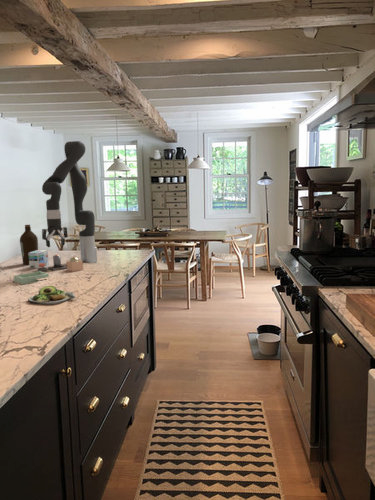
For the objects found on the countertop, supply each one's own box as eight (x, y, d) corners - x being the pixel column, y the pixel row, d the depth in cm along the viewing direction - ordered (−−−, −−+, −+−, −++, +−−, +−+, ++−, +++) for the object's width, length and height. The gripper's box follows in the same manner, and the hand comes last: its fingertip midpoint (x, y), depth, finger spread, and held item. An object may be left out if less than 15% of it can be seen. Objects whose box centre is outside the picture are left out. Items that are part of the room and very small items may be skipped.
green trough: (40, 276, 210) (40, 271, 209) (48, 279, 203) (48, 273, 202) (14, 281, 200) (13, 275, 199) (22, 284, 193) (21, 278, 192)
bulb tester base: (61, 268, 230) (61, 263, 229) (70, 270, 223) (69, 265, 222) (31, 273, 217) (31, 268, 217) (39, 276, 210) (39, 270, 210)
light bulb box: (39, 271, 225) (38, 252, 223) (29, 270, 226) (27, 252, 224) (49, 267, 235) (48, 249, 233) (39, 267, 236) (38, 249, 235)
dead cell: (76, 269, 221) (75, 256, 220) (80, 271, 218) (78, 257, 217) (70, 271, 219) (69, 257, 217) (73, 272, 216) (72, 258, 214)
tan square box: (77, 270, 223) (76, 259, 222) (83, 272, 219) (82, 260, 218) (67, 272, 219) (66, 260, 218) (72, 274, 214) (72, 262, 213)
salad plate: (86, 296, 171) (86, 285, 170) (59, 307, 154) (58, 296, 153) (51, 292, 178) (51, 282, 177) (22, 303, 161) (21, 293, 161)
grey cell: (59, 267, 225) (58, 254, 224) (62, 268, 223) (61, 254, 221) (52, 268, 223) (51, 254, 221) (55, 269, 220) (54, 255, 219)
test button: (43, 265, 218) (43, 262, 218) (46, 266, 216) (45, 263, 216) (38, 266, 216) (37, 263, 216) (40, 267, 214) (40, 264, 213)
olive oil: (39, 261, 256) (36, 223, 252) (40, 264, 246) (36, 225, 242) (21, 262, 252) (18, 224, 248) (21, 265, 242) (18, 226, 238)
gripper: (44, 218, 210) (46, 248, 213) (68, 217, 220) (70, 245, 223) (38, 218, 216) (40, 247, 218) (62, 216, 226) (64, 244, 228)
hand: (55, 246), depth 221 cm, fingers open, 8 cm apart
